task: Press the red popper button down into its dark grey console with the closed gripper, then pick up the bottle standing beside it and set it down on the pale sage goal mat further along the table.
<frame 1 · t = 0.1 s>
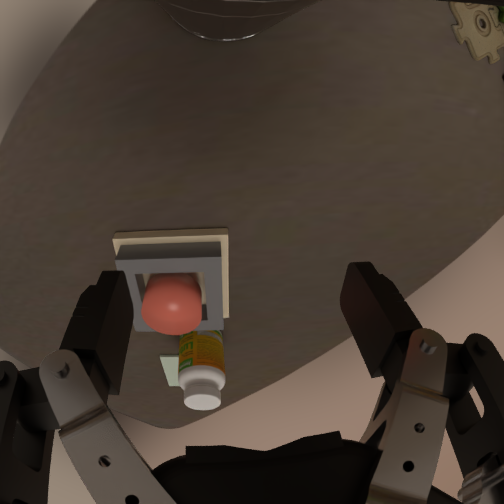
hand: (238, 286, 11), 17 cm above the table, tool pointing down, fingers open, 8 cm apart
dome button: (172, 304, 28), point 4 cm above the table, slide at 0.0 cm
supplement bottle: (201, 334, 38), on the table
dome console: (175, 275, 32), on the table
goal mat: (191, 370, 42), on the table
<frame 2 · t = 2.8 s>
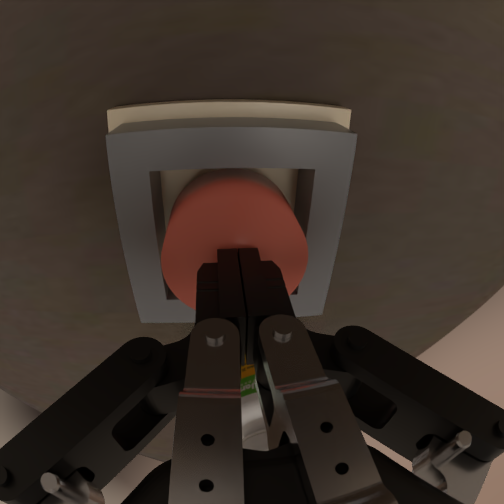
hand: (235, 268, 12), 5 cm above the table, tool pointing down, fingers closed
dome button: (232, 244, 13), point 4 cm above the table, slide at 0.5 cm, touching gripper
supplement bottle: (257, 331, 22), on the table
dome console: (228, 204, 16), on the table
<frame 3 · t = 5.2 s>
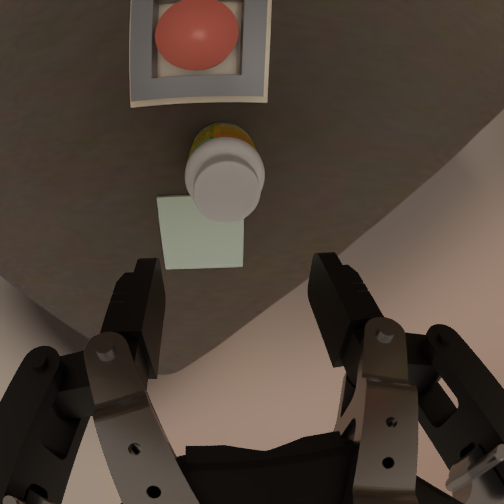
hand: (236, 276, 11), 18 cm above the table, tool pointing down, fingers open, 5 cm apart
dome button: (197, 34, 18), point 3 cm above the table, slide at 1.3 cm
supplement bottle: (222, 150, 26), on the table
dome console: (199, 39, 20), on the table
goal mat: (202, 232, 30), on the table
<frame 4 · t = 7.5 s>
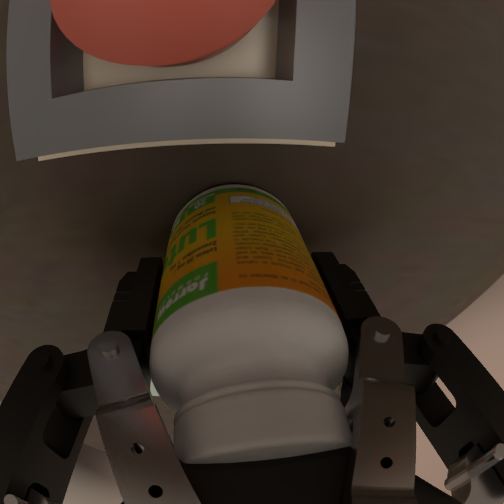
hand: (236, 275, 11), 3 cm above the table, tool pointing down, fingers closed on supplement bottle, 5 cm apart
supplement bottle: (232, 237, 14), on the table, touching gripper
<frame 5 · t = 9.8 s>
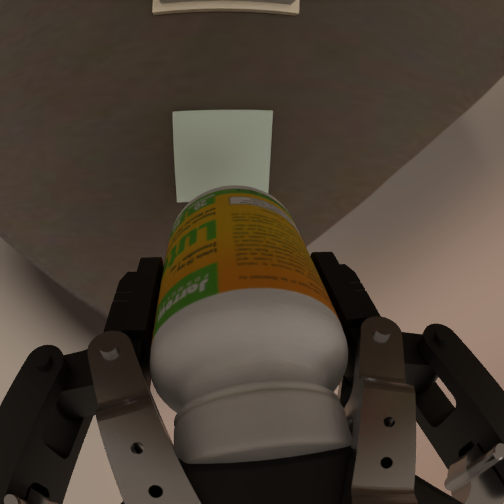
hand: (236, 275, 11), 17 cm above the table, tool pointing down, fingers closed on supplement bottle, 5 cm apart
supplement bottle: (232, 238, 14), point 14 cm above the table, touching gripper
goal mat: (222, 155, 25), on the table
when the fingers open (4 cm above the table, at t = 12.4 s): supplement bottle drops 1 cm, resting on goal mat.
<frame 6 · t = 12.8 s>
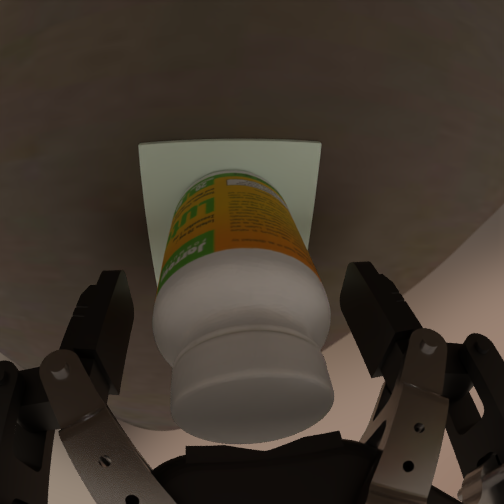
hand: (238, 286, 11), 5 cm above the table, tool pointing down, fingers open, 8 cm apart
supplement bottle: (230, 219, 15), resting on goal mat
goal mat: (229, 219, 15), on the table
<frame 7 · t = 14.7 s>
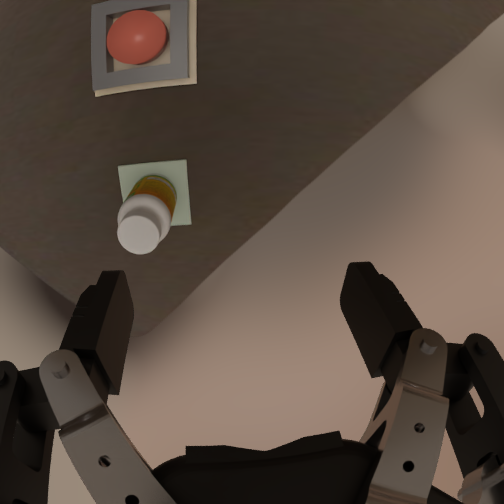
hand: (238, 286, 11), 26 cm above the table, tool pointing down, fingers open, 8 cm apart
dome button: (138, 38, 23), point 3 cm above the table, slide at 1.3 cm
supplement bottle: (155, 194, 35), resting on goal mat
dome console: (144, 41, 25), on the table
goal mat: (155, 194, 35), on the table
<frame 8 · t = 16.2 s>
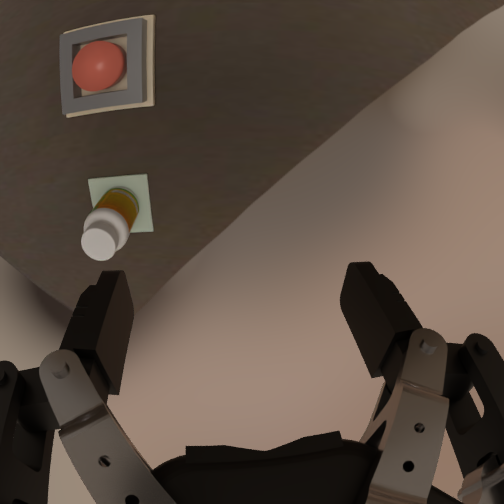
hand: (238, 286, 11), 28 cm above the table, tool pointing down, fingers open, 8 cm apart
dome button: (100, 65, 25), point 3 cm above the table, slide at 1.3 cm
supplement bottle: (120, 204, 37), resting on goal mat
dome console: (109, 65, 28), on the table
goal mat: (121, 204, 38), on the table
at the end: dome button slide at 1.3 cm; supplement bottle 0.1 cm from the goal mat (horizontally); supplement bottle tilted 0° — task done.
